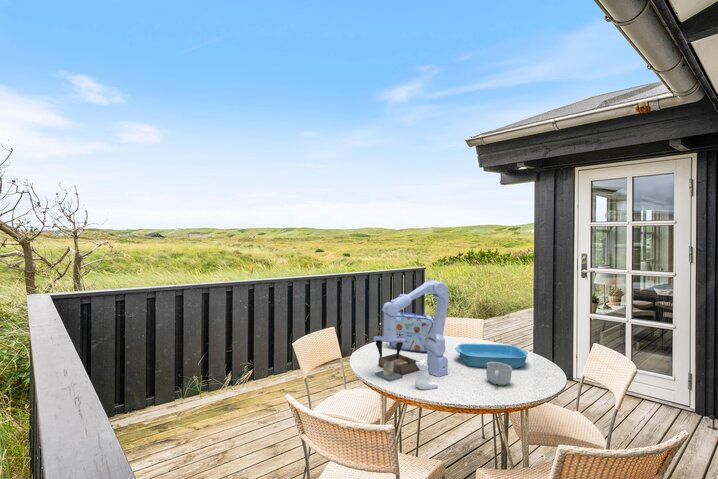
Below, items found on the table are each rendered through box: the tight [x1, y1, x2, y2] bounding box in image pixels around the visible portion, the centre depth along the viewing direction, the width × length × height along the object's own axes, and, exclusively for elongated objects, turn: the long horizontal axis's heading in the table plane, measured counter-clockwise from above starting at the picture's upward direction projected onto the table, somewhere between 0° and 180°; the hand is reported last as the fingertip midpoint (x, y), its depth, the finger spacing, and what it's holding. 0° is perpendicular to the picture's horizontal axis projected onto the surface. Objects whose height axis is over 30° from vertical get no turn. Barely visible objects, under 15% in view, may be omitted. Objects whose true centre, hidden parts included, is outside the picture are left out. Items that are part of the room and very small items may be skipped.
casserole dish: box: [454, 343, 529, 369], centre depth 195 cm, size 37×22×7 cm, turn 89°
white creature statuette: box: [415, 359, 439, 391], centre depth 160 cm, size 10×9×12 cm
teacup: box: [485, 362, 513, 386], centre depth 166 cm, size 14×11×8 cm
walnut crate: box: [378, 352, 420, 376], centre depth 183 cm, size 16×13×4 cm
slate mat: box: [374, 369, 403, 383], centre depth 172 cm, size 10×8×1 cm
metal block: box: [383, 362, 394, 376], centre depth 172 cm, size 4×4×5 cm
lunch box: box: [388, 311, 434, 353], centre depth 214 cm, size 28×10×22 cm, turn 73°
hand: (389, 357), depth 172 cm, fingers open, 7 cm apart
